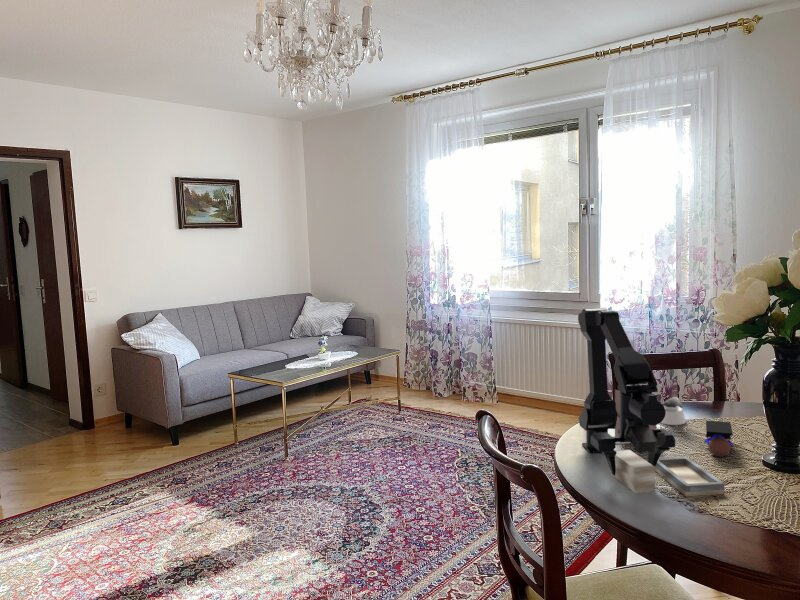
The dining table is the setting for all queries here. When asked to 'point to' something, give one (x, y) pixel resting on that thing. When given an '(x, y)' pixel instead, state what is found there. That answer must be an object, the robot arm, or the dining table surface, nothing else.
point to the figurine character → (719, 437)
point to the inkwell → (673, 412)
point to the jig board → (688, 477)
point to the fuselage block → (634, 472)
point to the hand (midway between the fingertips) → (632, 473)
